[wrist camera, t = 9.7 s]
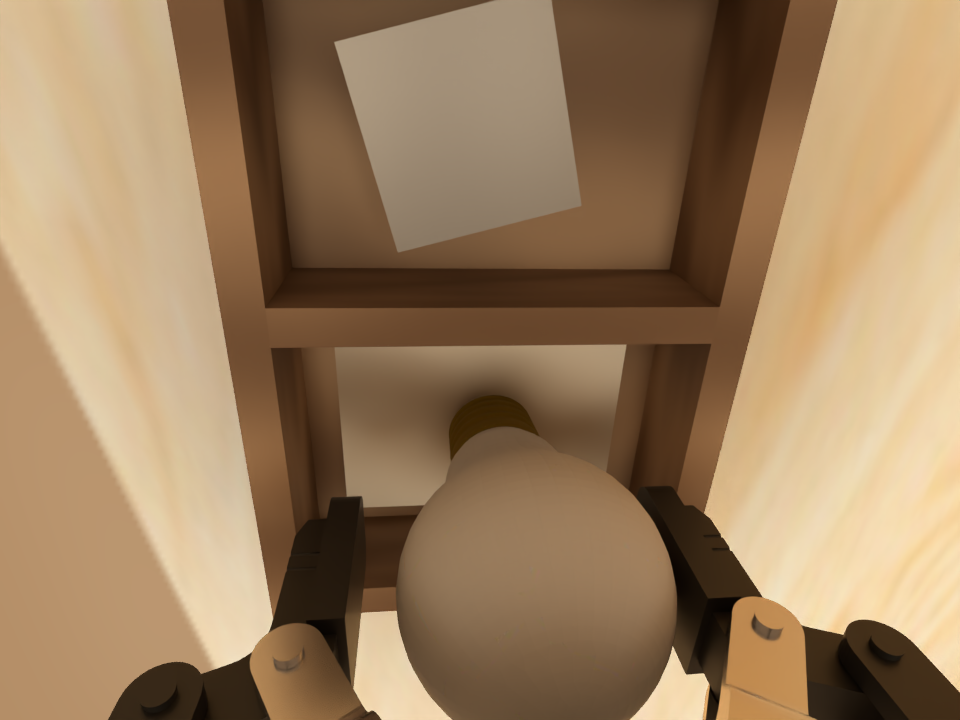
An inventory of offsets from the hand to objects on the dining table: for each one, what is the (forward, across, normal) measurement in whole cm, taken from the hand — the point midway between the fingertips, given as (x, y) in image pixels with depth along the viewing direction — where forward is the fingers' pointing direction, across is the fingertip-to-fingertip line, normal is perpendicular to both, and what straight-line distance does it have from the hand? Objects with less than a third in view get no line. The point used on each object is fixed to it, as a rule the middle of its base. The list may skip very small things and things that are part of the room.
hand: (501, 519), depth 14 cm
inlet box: (+6, 0, -4) cm, 7 cm away
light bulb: (+5, 0, 0) cm, 5 cm away
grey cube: (+5, +1, -9) cm, 10 cm away
